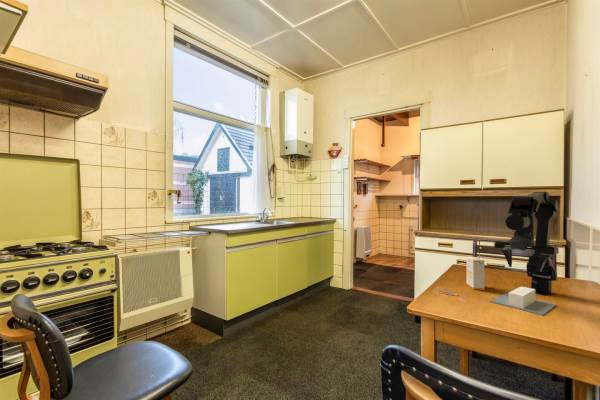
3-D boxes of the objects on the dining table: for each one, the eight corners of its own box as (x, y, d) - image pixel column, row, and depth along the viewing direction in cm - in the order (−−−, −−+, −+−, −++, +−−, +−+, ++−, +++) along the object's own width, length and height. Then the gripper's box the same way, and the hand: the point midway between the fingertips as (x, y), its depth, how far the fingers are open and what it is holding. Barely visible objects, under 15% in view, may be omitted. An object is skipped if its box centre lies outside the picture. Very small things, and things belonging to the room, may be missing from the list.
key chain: (432, 294, 120) (432, 292, 120) (441, 290, 124) (441, 288, 124) (465, 303, 110) (465, 300, 110) (473, 299, 114) (473, 296, 114)
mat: (506, 293, 119) (506, 292, 119) (556, 305, 106) (556, 304, 106) (490, 301, 110) (490, 300, 110) (542, 315, 97) (542, 314, 97)
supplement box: (485, 290, 124) (485, 260, 124) (473, 289, 125) (473, 259, 125) (477, 284, 132) (477, 256, 132) (466, 284, 133) (466, 256, 133)
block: (521, 286, 113) (508, 292, 106) (535, 289, 109) (523, 296, 102) (521, 297, 113) (508, 304, 106) (535, 300, 109) (523, 308, 102)
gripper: (488, 227, 112) (488, 267, 112) (549, 232, 97) (549, 278, 97) (499, 226, 118) (499, 263, 118) (559, 230, 103) (559, 273, 103)
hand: (524, 269), depth 109 cm, fingers open, 9 cm apart
